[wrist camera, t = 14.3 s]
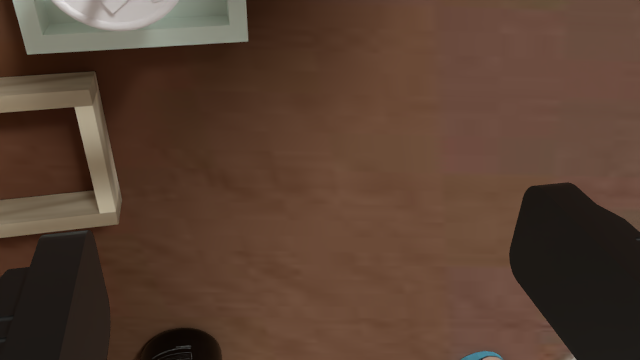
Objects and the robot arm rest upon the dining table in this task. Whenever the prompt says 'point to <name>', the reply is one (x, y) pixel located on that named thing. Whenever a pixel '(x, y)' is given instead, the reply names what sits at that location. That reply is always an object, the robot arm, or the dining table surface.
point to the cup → (483, 356)
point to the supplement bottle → (182, 346)
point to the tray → (172, 30)
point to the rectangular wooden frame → (106, 195)
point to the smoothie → (116, 12)
